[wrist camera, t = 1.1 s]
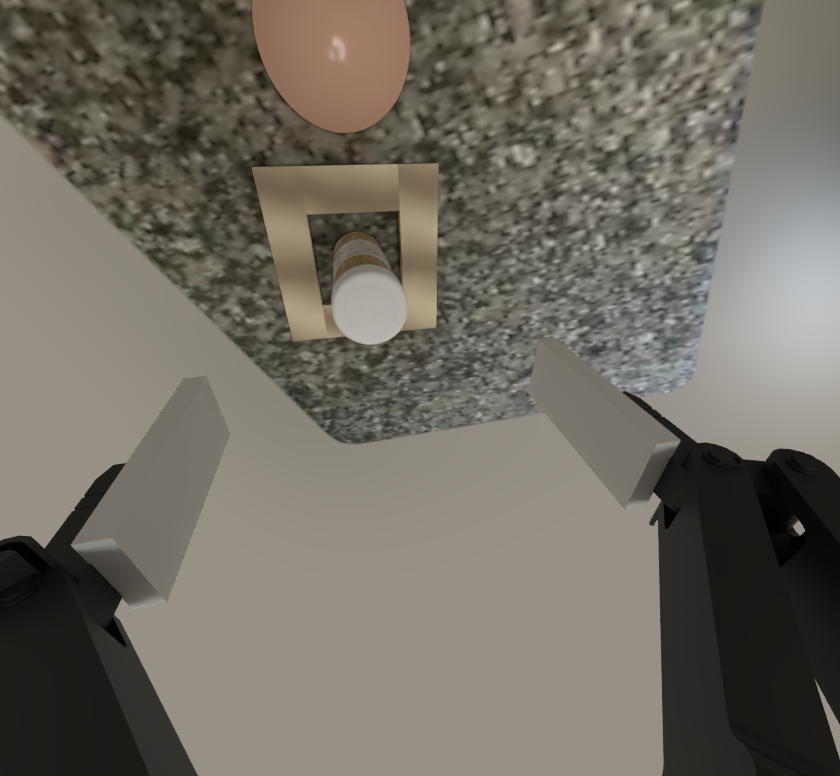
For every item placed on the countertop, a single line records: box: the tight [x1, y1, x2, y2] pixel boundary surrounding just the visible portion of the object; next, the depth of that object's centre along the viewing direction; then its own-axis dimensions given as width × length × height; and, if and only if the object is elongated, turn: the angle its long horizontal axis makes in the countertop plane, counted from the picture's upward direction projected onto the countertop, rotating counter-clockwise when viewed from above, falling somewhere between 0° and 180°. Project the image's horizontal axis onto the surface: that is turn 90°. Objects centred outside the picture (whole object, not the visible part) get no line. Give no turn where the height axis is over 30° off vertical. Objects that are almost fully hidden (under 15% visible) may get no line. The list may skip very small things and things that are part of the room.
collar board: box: [252, 163, 439, 341], centre depth 31 cm, size 14×14×1 cm
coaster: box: [252, 0, 410, 133], centre depth 23 cm, size 10×10×1 cm
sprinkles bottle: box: [331, 232, 408, 345], centre depth 26 cm, size 5×5×13 cm
